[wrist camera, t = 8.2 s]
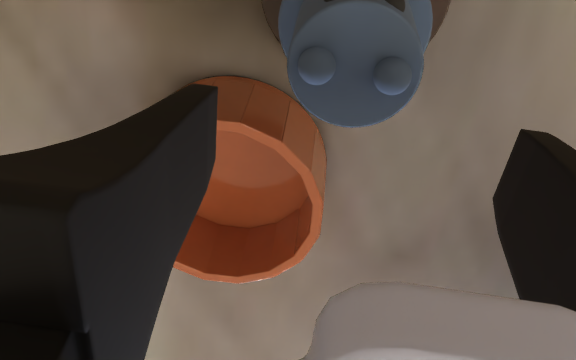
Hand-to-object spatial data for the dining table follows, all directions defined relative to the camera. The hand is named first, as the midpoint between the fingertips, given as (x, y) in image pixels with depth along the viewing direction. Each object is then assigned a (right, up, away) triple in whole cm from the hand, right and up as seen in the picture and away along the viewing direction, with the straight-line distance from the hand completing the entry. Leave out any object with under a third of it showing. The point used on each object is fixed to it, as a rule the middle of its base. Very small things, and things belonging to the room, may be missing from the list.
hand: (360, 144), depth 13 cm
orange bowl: (-4, 0, +13) cm, 14 cm away
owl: (+1, +6, +7) cm, 10 cm away
